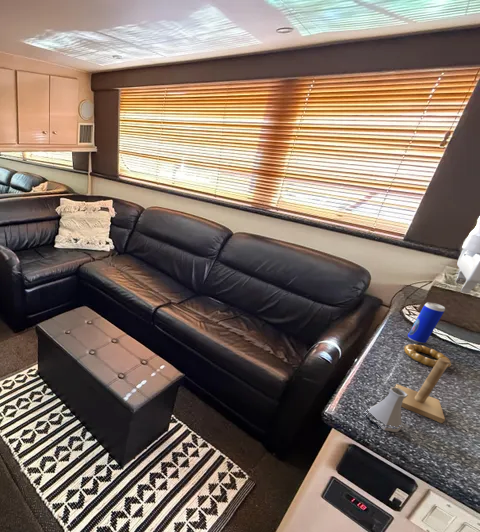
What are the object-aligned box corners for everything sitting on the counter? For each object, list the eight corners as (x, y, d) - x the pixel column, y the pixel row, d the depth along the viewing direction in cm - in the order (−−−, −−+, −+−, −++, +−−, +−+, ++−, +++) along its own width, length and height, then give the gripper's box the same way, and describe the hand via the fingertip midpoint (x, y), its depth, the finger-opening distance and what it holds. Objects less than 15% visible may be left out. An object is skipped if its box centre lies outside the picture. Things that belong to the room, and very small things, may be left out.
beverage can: (407, 334, 123) (426, 300, 117) (425, 340, 119) (446, 306, 114) (406, 339, 120) (425, 304, 114) (425, 345, 116) (446, 310, 110)
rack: (436, 403, 89) (465, 359, 83) (442, 423, 83) (474, 377, 77) (394, 387, 95) (418, 344, 89) (396, 405, 88) (423, 360, 82)
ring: (445, 358, 110) (448, 352, 109) (451, 374, 102) (455, 369, 101) (401, 344, 116) (404, 339, 115) (404, 358, 108) (407, 353, 107)
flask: (378, 408, 86) (395, 380, 83) (408, 431, 80) (427, 401, 76) (356, 411, 85) (372, 382, 81) (384, 434, 79) (403, 404, 75)
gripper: (512, 257, 86) (483, 302, 92) (493, 242, 100) (469, 281, 106) (477, 251, 90) (452, 294, 95) (464, 237, 104) (443, 275, 110)
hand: (461, 287), depth 101 cm, fingers open, 8 cm apart
